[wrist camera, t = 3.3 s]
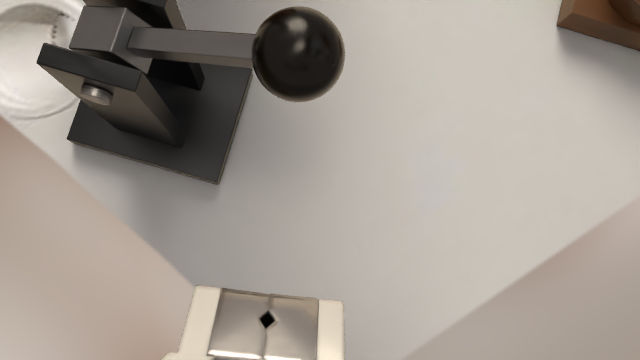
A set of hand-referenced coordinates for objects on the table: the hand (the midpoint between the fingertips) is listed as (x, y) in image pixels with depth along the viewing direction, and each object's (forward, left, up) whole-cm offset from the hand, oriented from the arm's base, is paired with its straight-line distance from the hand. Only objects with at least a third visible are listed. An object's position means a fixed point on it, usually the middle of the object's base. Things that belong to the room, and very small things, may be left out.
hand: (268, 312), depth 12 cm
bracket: (+10, -9, -26) cm, 29 cm away
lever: (+5, -9, -13) cm, 16 cm away
